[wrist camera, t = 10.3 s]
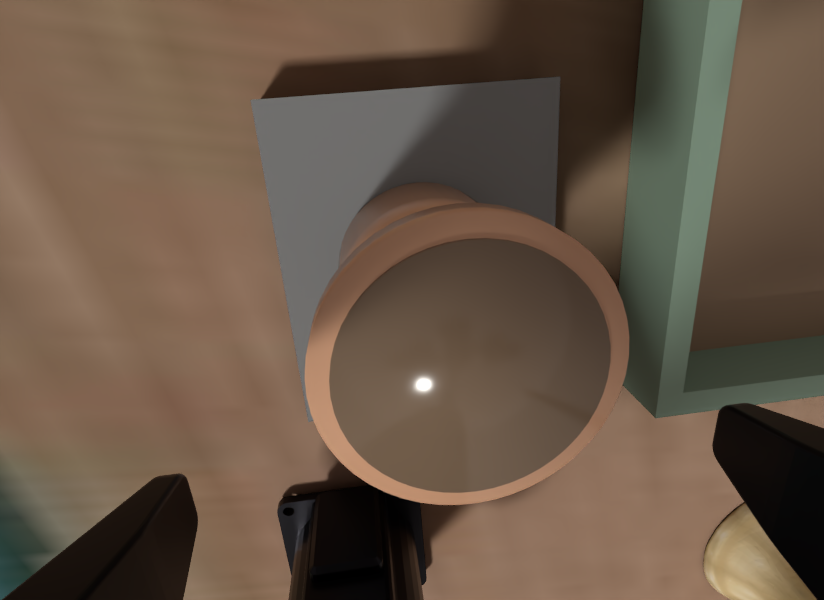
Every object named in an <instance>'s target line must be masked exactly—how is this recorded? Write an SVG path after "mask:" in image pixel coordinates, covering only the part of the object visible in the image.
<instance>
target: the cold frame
mask: <svg viewBox="0 0 824 600" xmlns="http://www.w3.org/2000/svg"><path fill="white" fill-rule="evenodd" d="M618 292H619V294H620V296H621V299H622V301H623V305H624V308H625V312H626V316H627V320H628V329H629V359H628V364H627V370H626V375H625V379H624V382H623V386H624V387H625V388H626V389H627V390H628V391H629V392H630V393H631V394H632V395H633V396H634V397H635V398H636V399H637V400H638V401H639V402H640V403H641V404H642V405H643V406H644V407H645V408H646V409H647V410H648V411H649V412H650V413H651V414H652V415H653V416H654V417H655V418H660V417H668V416H675V415H683V414H690V413H697V412H705V411H712V410H720V409H721V408H722V407H723V406H725V405H731V404H739V403H749V404H753V405H757V404H764V403H772V402H779V401H787V400H794V399H802V398H809V397H817V396H824V0H644V3H643V15H642V26H641V38H640V49H639V61H638V72H637V84H636V95H635V107H634V118H633V130H632V141H631V153H630V164H629V176H628V187H627V199H626V210H625V222H624V234H623V245H622V257H621V268H620V280H619V291H618Z"/></svg>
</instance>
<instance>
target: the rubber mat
mask: <svg viewBox="0 0 824 600" xmlns="http://www.w3.org/2000/svg"><path fill="white" fill-rule="evenodd" d="M559 103H560V77H548V78H535V79H521V80H508V81H495V82H482V83H468V84H455V85H442V86H428V87H415V88H402V89H389V90H375V91H362V92H349V93H336V94H322V95H309V96H296V97H283V98H269V99H256V100H251V105H252V110H253V116H254V122H255V127H256V133H257V138H258V144H259V149H260V155H261V161H262V166H263V172H264V177H265V183H266V188H267V194H268V200H269V205H270V211H271V216H272V222H273V227H274V233H275V239H276V244H277V250H278V255H279V261H280V266H281V272H282V278H283V283H284V289H285V294H286V300H287V305H288V311H289V317H290V322H291V328H292V333H293V339H294V344H295V350H296V356H297V361H298V367H299V372H300V378H301V383H302V389H303V395H304V400H305V406H306V411H307V417H308V422H310V421H314V420H313V418H312V416H311V412H310V408H309V404H308V401H307V397H306V387H305V359H306V352H307V347H308V341H309V336H310V331H311V326H312V321H313V317H314V314H315V311H316V308H317V306H318V303H319V300H320V298H321V296H322V294H323V292H324V290H325V288H326V286H327V284H328V283H329V281H330V279H331V278H332V276H333V275H334V274H335V272H336V271H337V270H338V264H339V253H340V248H341V244H342V241H343V238H344V235H345V232H346V231H347V229H348V227H349V225H350V223H351V222H352V220H353V219H354V217H355V216H356V214H357V213H358V212H359V211H360V210H361V209H362V208H363V207H364V206H365V205H366V204H367V203H368V202H370V201H371V200H372V199H373V198H375V197H376V196H378V195H380V194H381V193H383V192H385V191H387V190H389V189H392V188H394V187H397V186H400V185H404V184H409V183H416V182H430V183H439V184H443V185H447V186H450V187H453V188H455V189H458V190H460V191H462V192H463V193H465V194H467V195H469V196H470V197H471V198H473V199H474V200H476V201H477V202H478V203H485V204H495V205H501V206H505V207H509V208H513V209H517V210H520V211H523V212H525V213H528V214H530V215H533V216H535V217H538V218H540V219H541V220H543V221H545V222H547V223H548V224H550V225H552V226H554V227H555V219H556V190H557V161H558V132H559Z"/></svg>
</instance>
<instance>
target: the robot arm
mask: <svg viewBox="0 0 824 600" xmlns="http://www.w3.org/2000/svg"><path fill="white" fill-rule="evenodd" d="M713 452H714V455H715V457H716V459H717V461H718V463H719V464H720V466H721V467H722V469H723V470H724V472H725V473H726V475H727V476H728V478H729V479H730V481H731V482H732V484H733V485H734V487H735V488H736V490H737V491H738V493H739V494H740V496H741V497H742V499H743V500H744V502H745V503H746V505H747V507H748V508H749V510H750V511H751V513H752V514H753V516H754V517H755V519H756V520H757V522H758V523H759V525H760V526H761V528H762V529H763V530H764V532H765V533H766V535H767V536H768V538H769V539H770V541H771V542H772V543H773V544H774V546H775V547H776V548H777V550H778V551H779V552H780V554H781V555H782V556H783V558H784V559H785V560H786V561H787V563H788V564H789V565H790V566H791V568H792V569H793V570H794V571H795V573H796V574H797V575H798V576H799V578H800V579H801V580H802V581H803V583H804V584H805V585H806V587H807V588H808V589H809V590H810V592H811V593H812V594H813V595H814V597H815V598H816V599H817V600H824V428H821V427H818V426H815V425H812V424H809V423H806V422H803V421H800V420H797V419H794V418H791V417H788V416H785V415H782V414H780V413H777V412H774V411H771V410H768V409H765V408H762V407H759V406H756V405H753V404H749V403H739V404H731V405H725V406H723V407H722V408H721V409H720V411H719V413H718V418H717V423H716V428H715V433H714V439H713ZM287 507H291V508H293V509H286V508H287ZM278 518H279V522H280V526H281V531H282V535H283V540H284V544H285V549H286V553H287V558H288V562H289V566H290V571H291V575H292V578H291V585H290V593H289V600H424V599H423V592H422V585H423V584H424V583H425V582H426V567H425V556H424V544H423V532H422V521H421V509H420V502H415V501H411V500H407V499H403V498H400V497H397V496H394V495H391V494H389V493H386V492H384V491H382V490H380V489H378V488H376V487H374V486H372V485H368V486H361V487H354V488H347V489H340V490H332V491H325V492H318V493H311V494H304V495H296V496H289V497H285V498H283V499H282V500H281V501H280V502H279V505H278ZM197 526H198V516H197V511H196V507H195V504H194V501H193V497H192V494H191V490H190V487H189V483H188V480H187V478H186V477H185V476H184V475H183V474H171V475H163V476H158V477H155V478H154V479H152V480H151V481H150V482H148V483H147V484H146V485H145V486H143V487H142V488H141V489H140V490H138V491H137V492H136V493H135V494H133V495H132V496H131V497H130V498H128V499H127V500H126V501H125V502H123V503H122V504H121V505H120V506H118V507H117V508H116V509H115V510H113V511H112V512H111V513H110V514H108V515H107V516H106V517H105V518H103V519H102V520H101V521H100V522H98V523H97V524H96V525H95V526H93V527H92V528H91V529H90V530H88V531H87V532H86V533H85V534H83V535H82V536H81V537H80V538H78V539H77V540H76V541H75V542H73V543H72V544H71V545H70V546H68V547H67V548H66V549H65V550H63V551H62V552H61V553H60V554H58V555H57V556H56V557H55V558H53V559H52V560H51V561H50V562H48V563H47V564H46V565H45V566H43V567H42V568H41V569H40V570H38V571H37V572H36V573H35V574H33V575H32V576H31V577H30V578H28V579H27V580H26V581H25V582H23V583H22V584H21V585H20V586H18V587H17V588H16V589H15V590H13V591H12V592H11V593H10V594H8V595H7V596H6V597H5V598H3V599H2V600H183V597H184V592H185V587H186V582H187V577H188V572H189V567H190V562H191V557H192V552H193V547H194V542H195V537H196V532H197Z"/></svg>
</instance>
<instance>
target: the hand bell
mask: <svg viewBox="0 0 824 600" xmlns="http://www.w3.org/2000/svg"><path fill="white" fill-rule="evenodd" d="M703 567H704V573H705V575H706V578H707V580H708V582H709V583H710V585H711V586H712V587H713V588H714V589H715V590H716V591H718V592H719V593H721V594H722V595H724V596H726V597H727V598H729V599H731V600H817V599H816V598H815V597H814V595H813V594H812V593H811V592H810V590H809V589H808V588H807V587H806V585H805V584H804V583H803V581H802V580H801V579H800V578H799V576H798V575H797V574H796V573H795V571H794V570H793V569H792V568H791V566H790V565H789V564H788V563H787V561H786V560H785V559H784V558H783V556H782V555H781V554H780V552H779V551H778V550H777V548H776V547H775V546H774V544H773V543H772V542H771V541H770V539H769V538H768V536H767V535H766V533H765V532H764V530H763V529H762V528H761V526H760V525H759V523H758V522H757V520H756V519H755V517H754V516H753V514H752V513H751V511H750V510H749V508H748V507H747V505H746V503H744V504H743V505H741V506H740V507H738V508H737V509H736V510H735V511H733V512H732V513H731V514H730V515H729V516H728V517H727V518H726V519H725V520H724V521H723V522H722V523H721V524H720V525H719V526H718V528H717V529H716V530H715V532H714V533H713V535H712V537H711V538H710V540H709V542H708V544H707V547H706V550H705V554H704V566H703Z"/></svg>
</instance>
